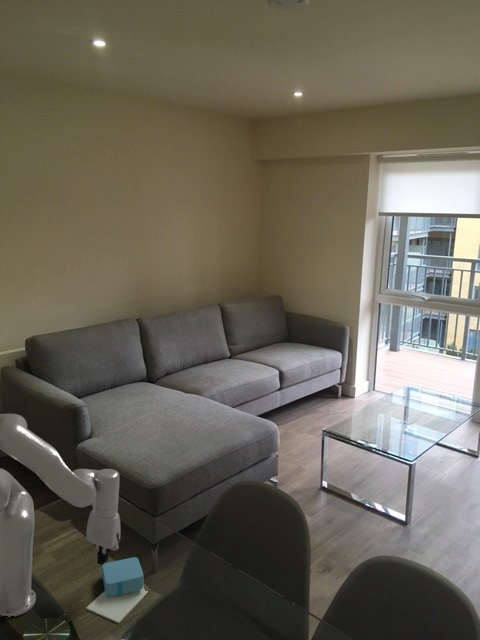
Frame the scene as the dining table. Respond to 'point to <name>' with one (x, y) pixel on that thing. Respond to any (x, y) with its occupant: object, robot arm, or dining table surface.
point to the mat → (116, 604)
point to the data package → (122, 576)
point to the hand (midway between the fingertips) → (102, 562)
